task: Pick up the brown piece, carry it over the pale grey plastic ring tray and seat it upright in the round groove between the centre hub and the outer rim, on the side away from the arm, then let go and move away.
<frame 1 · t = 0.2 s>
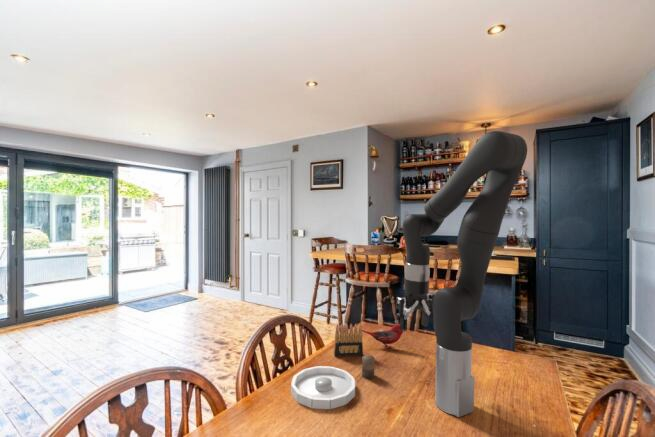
hand: (414, 327, 102), 17 cm above the table, tool pointing down, fingers open, 8 cm apart
ring tray: (323, 389, 97), on the table
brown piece: (368, 375, 106), on the table
decorative bird figurine: (382, 347, 128), on the table
ammunition clip: (348, 355, 121), on the table
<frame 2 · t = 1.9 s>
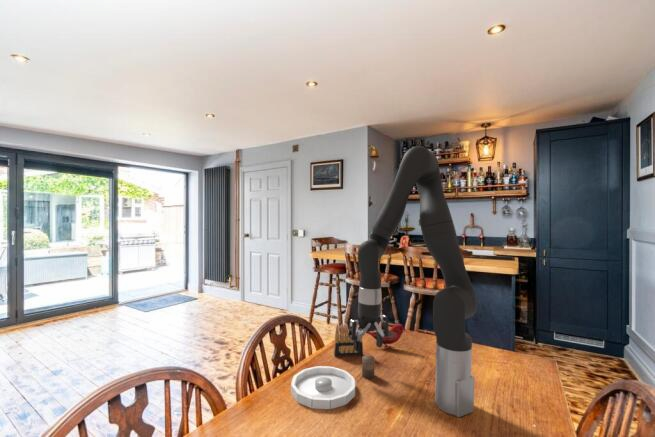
hand: (368, 348, 106), 9 cm above the table, tool pointing down, fingers open, 8 cm apart
nothing on the table moved.
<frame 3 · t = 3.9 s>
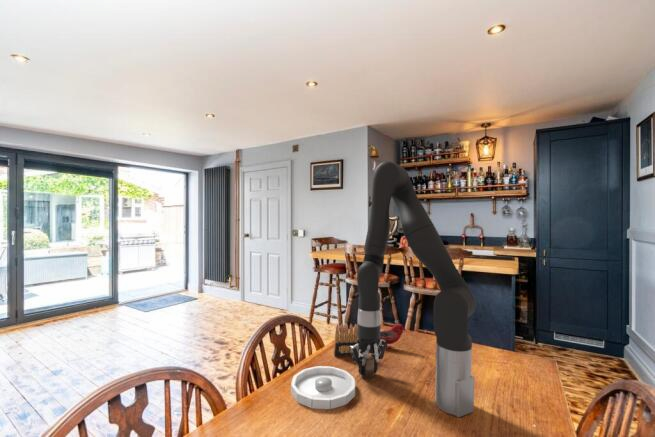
hand: (368, 373, 106), 1 cm above the table, tool pointing down, fingers closed on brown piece, 4 cm apart
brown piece: (368, 375, 106), on the table, touching gripper
everything else where it was.
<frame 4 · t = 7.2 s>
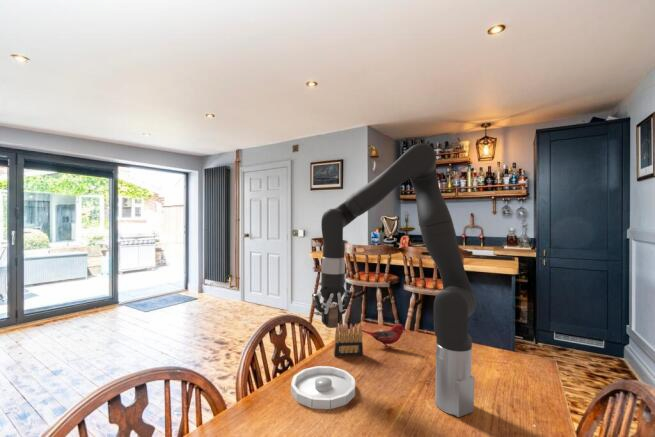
hand: (331, 323, 103), 18 cm above the table, tool pointing down, fingers closed on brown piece, 4 cm apart
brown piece: (331, 325, 104), point 17 cm above the table, touching gripper
everything else where it was.
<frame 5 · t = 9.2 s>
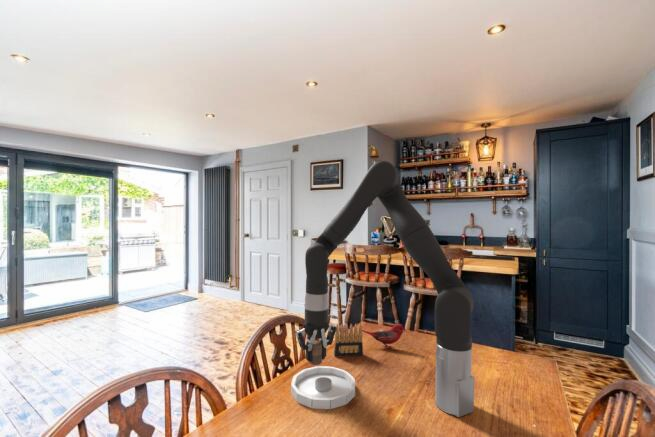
hand: (315, 359, 102), 7 cm above the table, tool pointing down, fingers closed on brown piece, 4 cm apart
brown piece: (315, 361, 102), point 6 cm above the table, touching gripper
everything else where it was.
when the fingers open (3 cm above the table, at t = 10.7 s): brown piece drops 1 cm, resting on ring tray.
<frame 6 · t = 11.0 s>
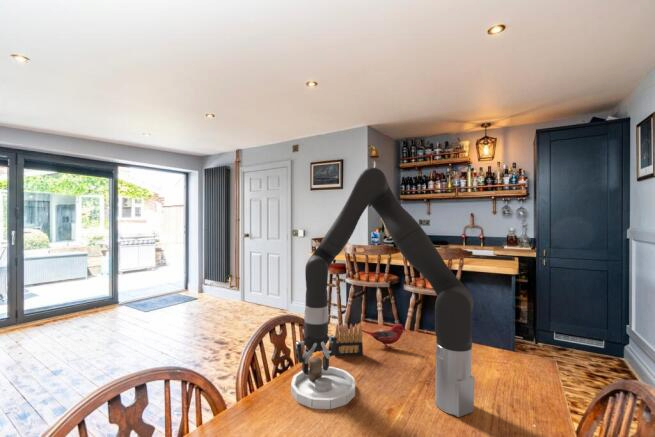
hand: (315, 371, 102), 3 cm above the table, tool pointing down, fingers open, 6 cm apart
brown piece: (315, 379, 102), point 1 cm above the table, touching ring tray
everything else where it was.
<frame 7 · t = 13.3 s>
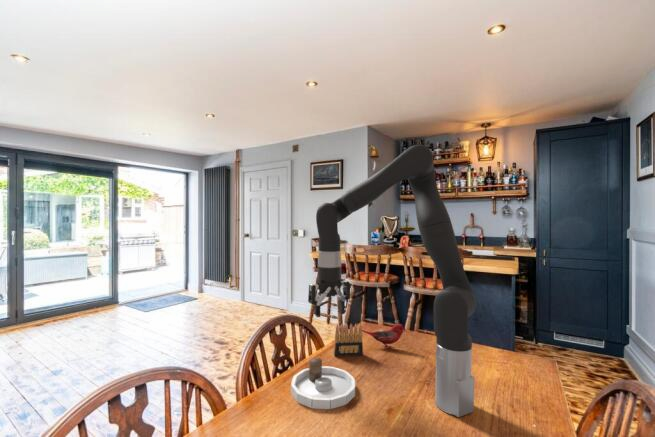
hand: (329, 314, 104), 21 cm above the table, tool pointing down, fingers open, 8 cm apart
nothing on the table moved.
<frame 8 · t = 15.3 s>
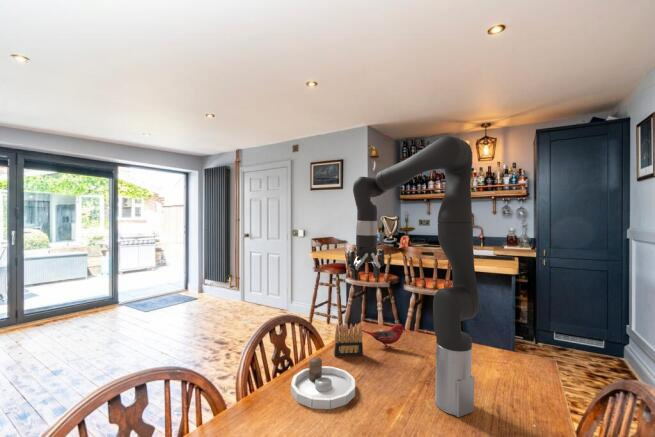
hand: (366, 279, 114), 30 cm above the table, tool pointing down, fingers open, 8 cm apart
nothing on the table moved.
at the end: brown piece 0.1 cm from the target spot on the ring tray, point 0.6 cm above the ring tray's base; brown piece tilted 0°; the gripper is holding nothing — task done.
